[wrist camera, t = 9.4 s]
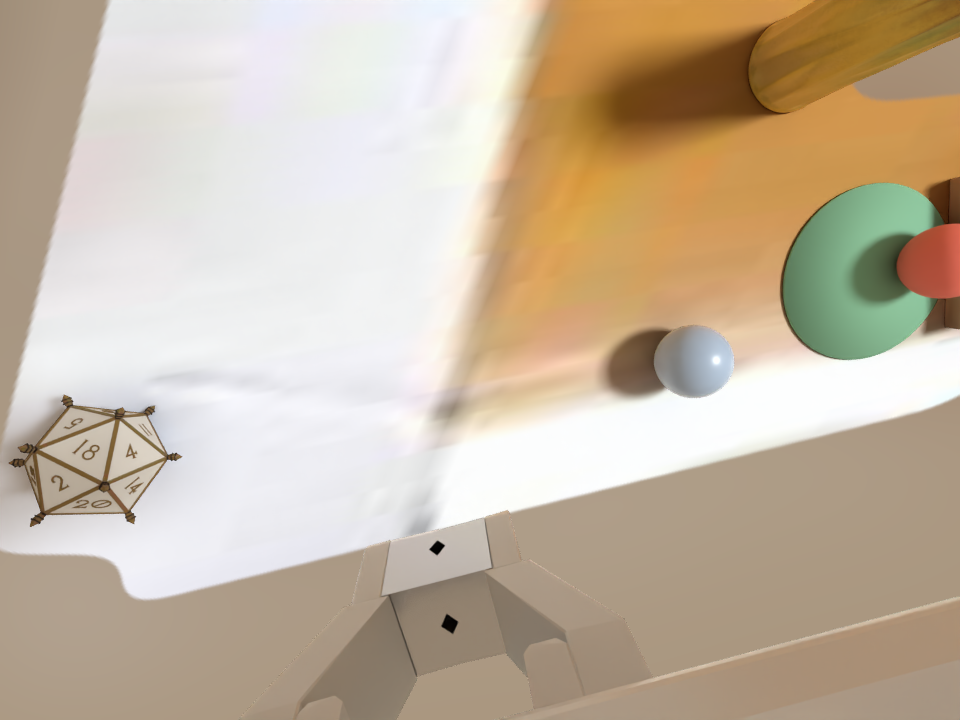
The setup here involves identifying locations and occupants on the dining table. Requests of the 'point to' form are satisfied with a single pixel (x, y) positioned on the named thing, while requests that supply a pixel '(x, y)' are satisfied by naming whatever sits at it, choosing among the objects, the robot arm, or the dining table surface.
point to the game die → (93, 462)
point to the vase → (843, 46)
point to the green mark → (857, 272)
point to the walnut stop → (956, 308)
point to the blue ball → (694, 361)
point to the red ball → (932, 262)
